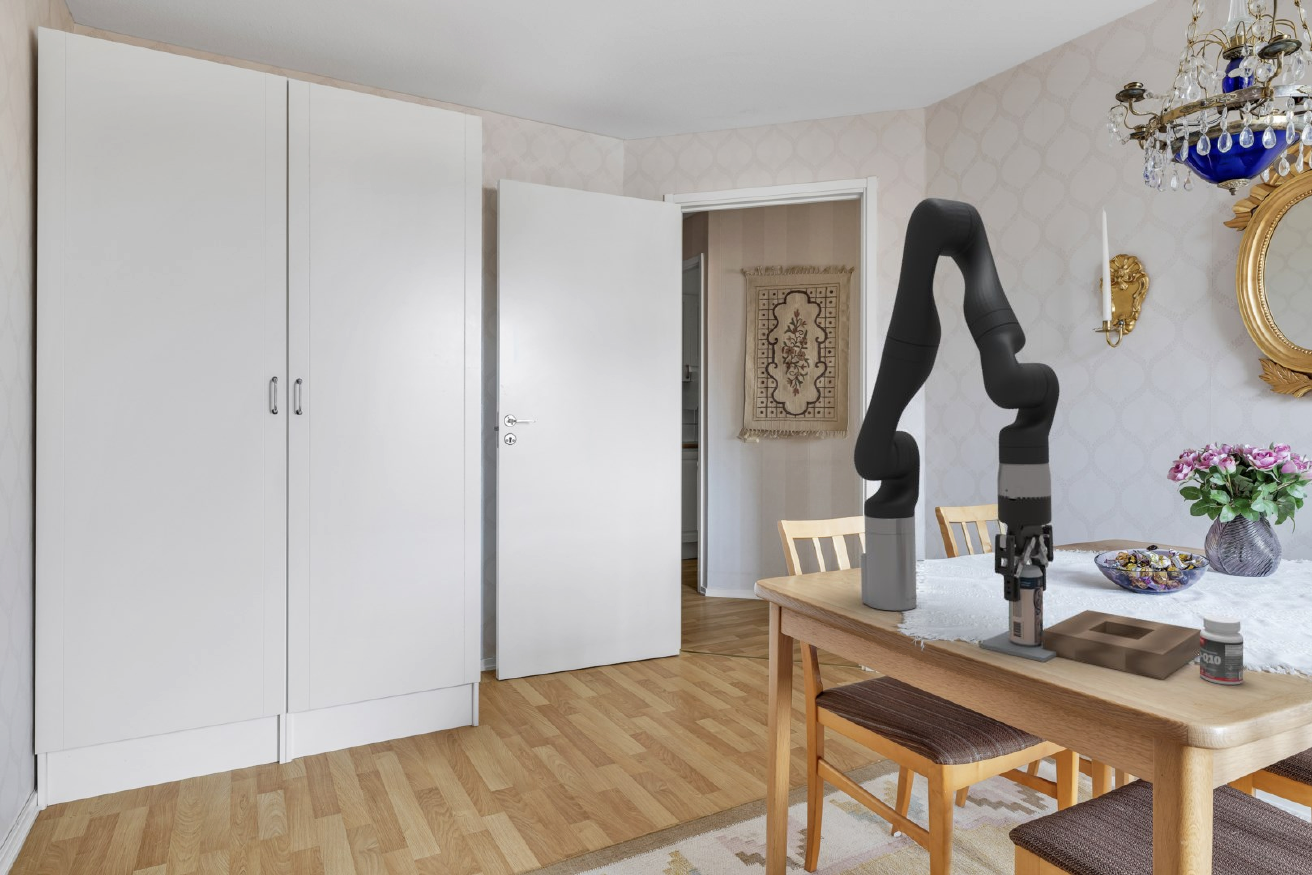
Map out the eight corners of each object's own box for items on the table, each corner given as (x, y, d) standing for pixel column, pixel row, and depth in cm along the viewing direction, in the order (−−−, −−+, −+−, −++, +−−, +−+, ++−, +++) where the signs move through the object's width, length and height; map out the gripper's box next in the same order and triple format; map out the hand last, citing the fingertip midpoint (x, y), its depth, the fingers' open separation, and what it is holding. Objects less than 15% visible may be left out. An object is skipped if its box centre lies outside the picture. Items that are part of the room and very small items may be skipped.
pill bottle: (1191, 674, 106) (1191, 614, 106) (1223, 672, 107) (1223, 612, 106) (1219, 686, 102) (1218, 624, 101) (1252, 684, 102) (1252, 622, 102)
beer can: (1046, 648, 117) (1046, 570, 117) (1013, 647, 118) (1012, 570, 118) (1037, 638, 122) (1037, 563, 121) (1005, 637, 123) (1005, 563, 122)
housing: (1042, 652, 117) (1042, 630, 117) (1087, 630, 127) (1087, 609, 127) (1162, 679, 105) (1162, 654, 105) (1201, 652, 115) (1201, 629, 115)
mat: (979, 647, 121) (979, 643, 121) (1010, 633, 127) (1010, 629, 127) (1044, 662, 113) (1044, 658, 113) (1073, 646, 119) (1073, 643, 119)
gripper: (1021, 486, 126) (1023, 584, 127) (977, 495, 117) (978, 600, 118) (1069, 489, 121) (1070, 591, 121) (1026, 498, 112) (1028, 609, 112)
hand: (1025, 595), depth 120 cm, fingers open, 8 cm apart
